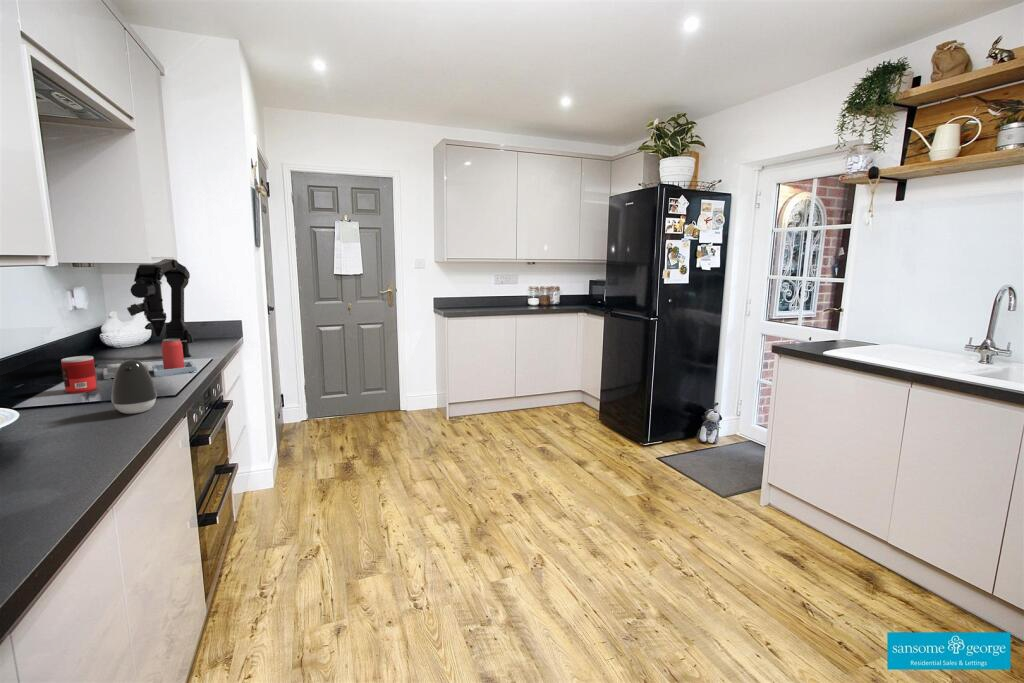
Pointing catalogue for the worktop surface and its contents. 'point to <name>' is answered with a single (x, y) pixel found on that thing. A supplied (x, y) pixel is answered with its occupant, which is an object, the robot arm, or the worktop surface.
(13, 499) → the worktop surface
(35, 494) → the worktop surface
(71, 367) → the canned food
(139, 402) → the grey egg-shaped dome
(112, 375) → the bay frame
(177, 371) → the tray
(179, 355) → the beer can
